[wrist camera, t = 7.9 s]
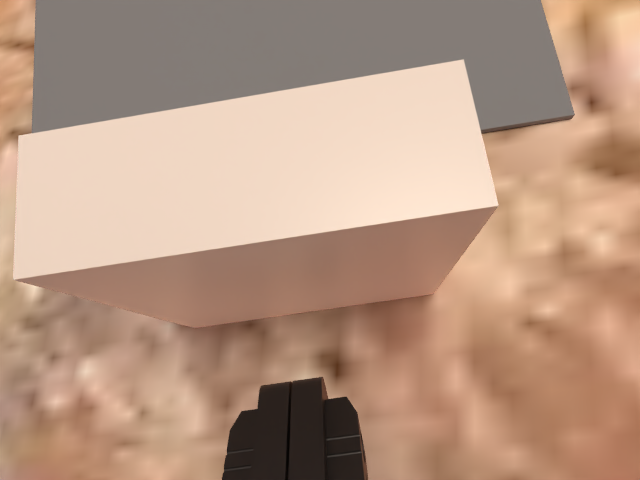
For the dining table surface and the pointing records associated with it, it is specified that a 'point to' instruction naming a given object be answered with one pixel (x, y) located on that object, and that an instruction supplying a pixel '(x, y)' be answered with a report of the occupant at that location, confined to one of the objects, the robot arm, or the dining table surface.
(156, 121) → the block
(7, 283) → the dining table surface
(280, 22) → the mat
